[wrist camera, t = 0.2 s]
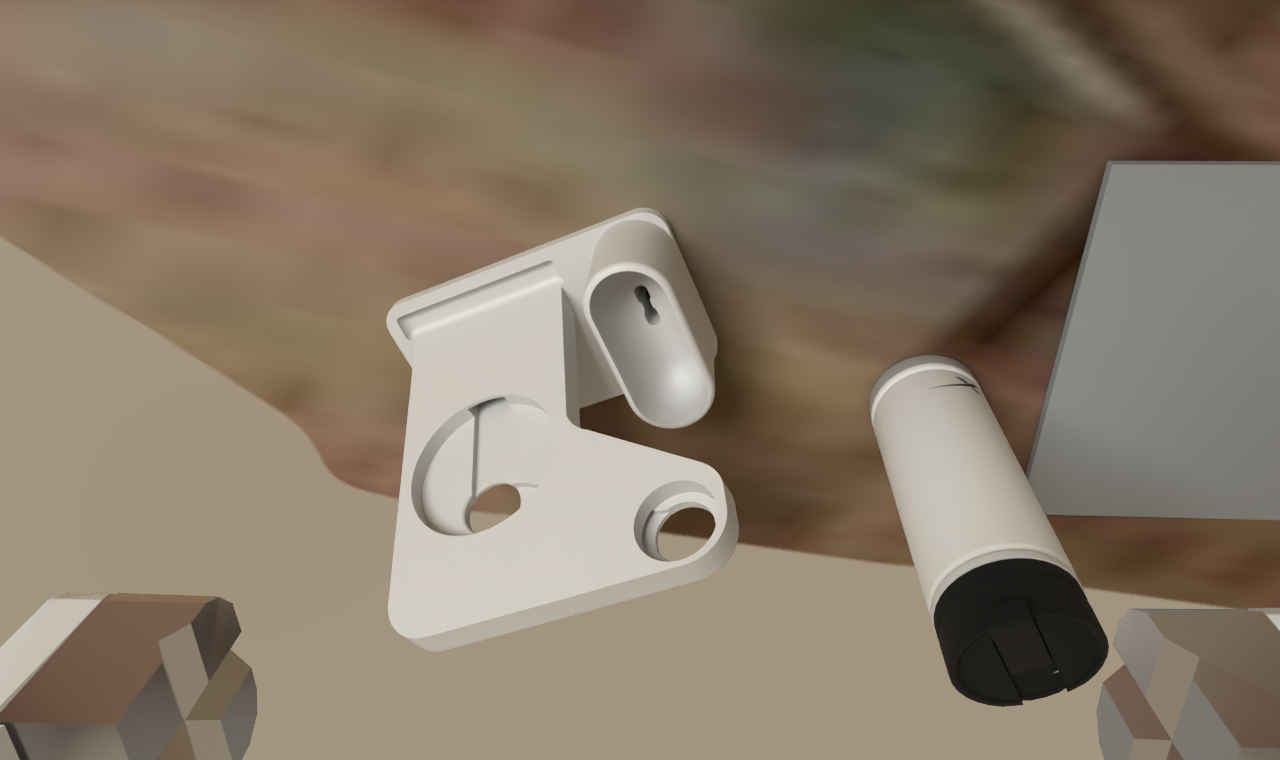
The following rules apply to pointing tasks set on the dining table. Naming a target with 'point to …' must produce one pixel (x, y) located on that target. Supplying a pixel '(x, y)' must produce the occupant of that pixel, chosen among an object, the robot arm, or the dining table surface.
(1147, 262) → the grey mat
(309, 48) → the dining table surface
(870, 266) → the dining table surface
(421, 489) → the phone holder
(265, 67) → the dining table surface
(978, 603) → the travel mug
